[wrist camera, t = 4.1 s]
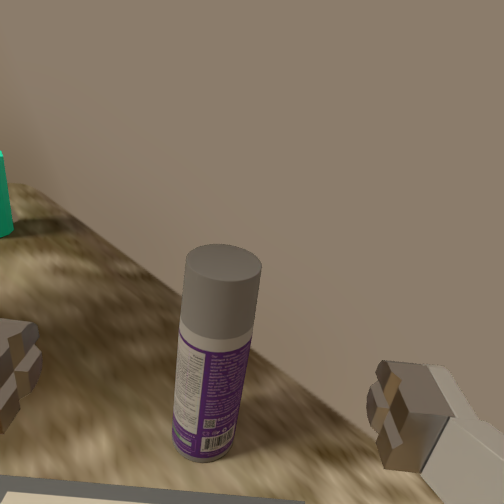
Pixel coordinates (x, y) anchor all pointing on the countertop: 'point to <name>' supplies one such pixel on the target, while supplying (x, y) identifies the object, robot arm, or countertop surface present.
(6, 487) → the letter board
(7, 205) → the candle
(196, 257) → the container
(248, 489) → the countertop surface
